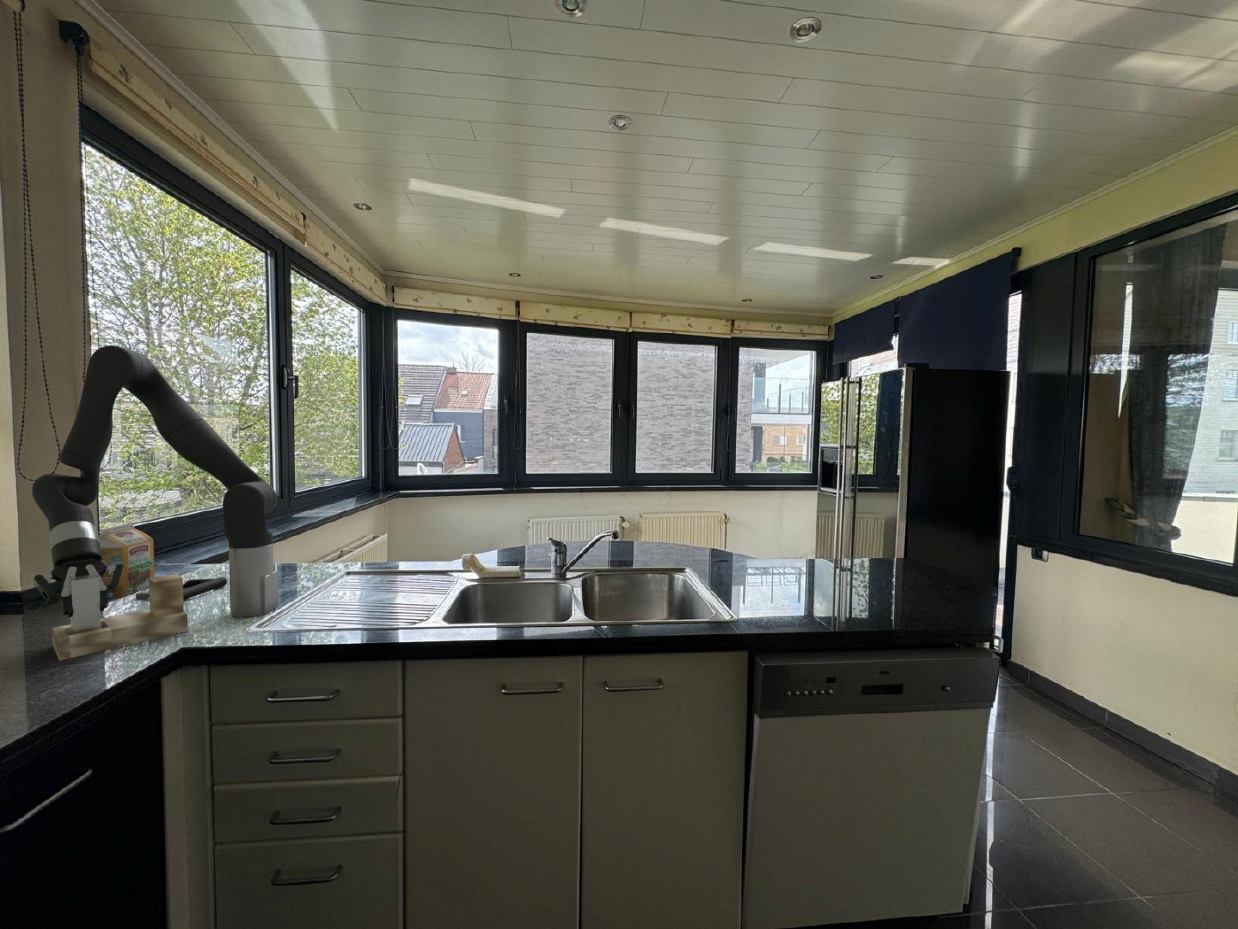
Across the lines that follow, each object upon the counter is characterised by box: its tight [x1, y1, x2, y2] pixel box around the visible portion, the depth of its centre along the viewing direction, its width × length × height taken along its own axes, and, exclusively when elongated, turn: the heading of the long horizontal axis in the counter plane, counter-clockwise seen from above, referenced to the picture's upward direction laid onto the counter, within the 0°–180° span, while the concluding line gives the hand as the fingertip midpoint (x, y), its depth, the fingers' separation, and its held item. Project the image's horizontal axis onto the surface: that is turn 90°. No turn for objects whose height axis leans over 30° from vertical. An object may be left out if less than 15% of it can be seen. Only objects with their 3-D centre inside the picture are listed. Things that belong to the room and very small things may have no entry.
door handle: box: [135, 576, 228, 602], centre depth 144 cm, size 3×20×16 cm
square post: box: [69, 574, 101, 635], centre depth 108 cm, size 4×4×12 cm
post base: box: [51, 573, 189, 661], centre depth 113 cm, size 20×11×12 cm, turn 143°
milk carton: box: [98, 523, 156, 599], centre depth 145 cm, size 10×11×19 cm
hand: (86, 611), depth 107 cm, fingers closed on square post, 4 cm apart
